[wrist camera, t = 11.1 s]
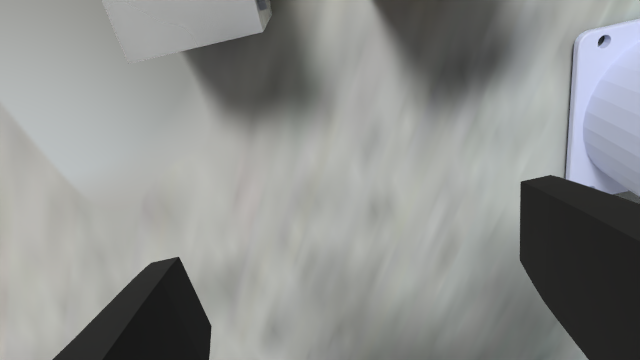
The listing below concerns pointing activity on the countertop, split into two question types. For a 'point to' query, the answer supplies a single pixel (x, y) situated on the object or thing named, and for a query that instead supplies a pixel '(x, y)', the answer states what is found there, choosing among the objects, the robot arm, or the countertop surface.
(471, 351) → the countertop surface
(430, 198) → the countertop surface
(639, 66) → the robot arm
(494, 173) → the countertop surface
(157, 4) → the block
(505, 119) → the countertop surface
